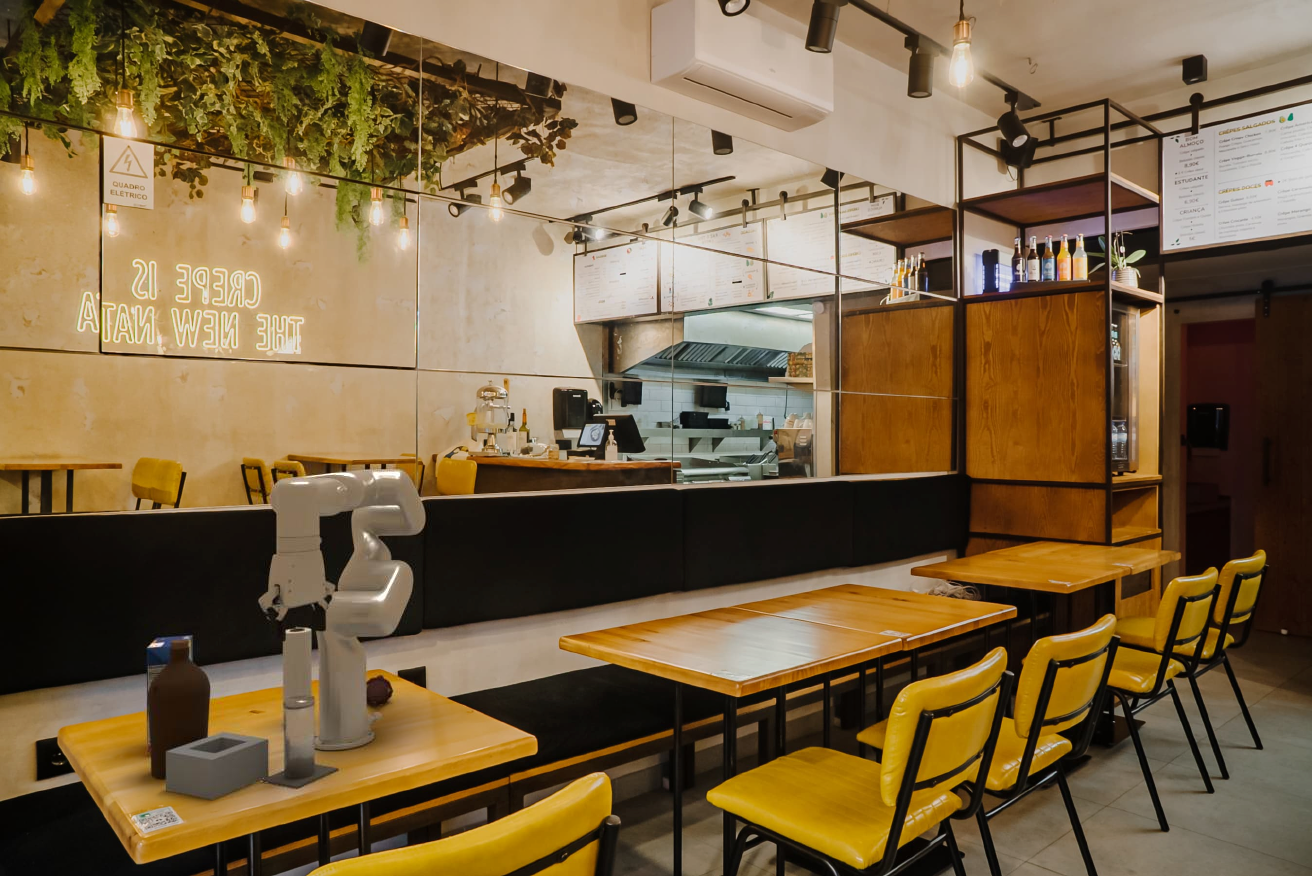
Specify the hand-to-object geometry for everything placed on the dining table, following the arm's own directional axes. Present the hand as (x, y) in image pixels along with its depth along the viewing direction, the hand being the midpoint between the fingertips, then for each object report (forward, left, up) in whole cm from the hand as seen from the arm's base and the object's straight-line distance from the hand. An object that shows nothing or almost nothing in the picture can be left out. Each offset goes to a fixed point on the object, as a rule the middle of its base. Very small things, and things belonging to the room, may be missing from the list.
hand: (298, 635), depth 161 cm
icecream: (-44, -20, -27) cm, 55 cm away
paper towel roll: (-25, -26, -27) cm, 45 cm away
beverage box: (-3, -39, -27) cm, 48 cm away
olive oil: (+6, -24, -27) cm, 37 cm away
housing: (+8, -11, -26) cm, 30 cm away
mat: (0, 0, -26) cm, 26 cm away
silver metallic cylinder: (0, 0, -26) cm, 26 cm away
